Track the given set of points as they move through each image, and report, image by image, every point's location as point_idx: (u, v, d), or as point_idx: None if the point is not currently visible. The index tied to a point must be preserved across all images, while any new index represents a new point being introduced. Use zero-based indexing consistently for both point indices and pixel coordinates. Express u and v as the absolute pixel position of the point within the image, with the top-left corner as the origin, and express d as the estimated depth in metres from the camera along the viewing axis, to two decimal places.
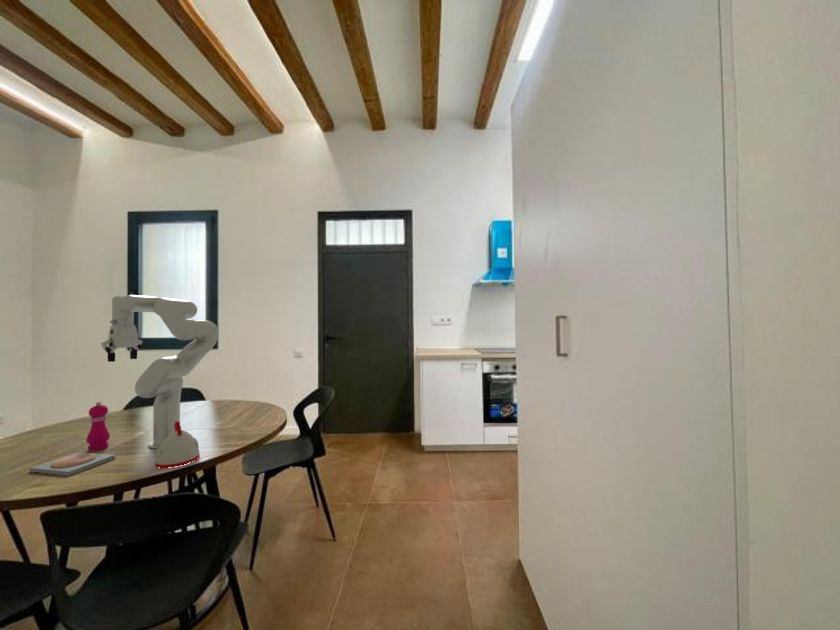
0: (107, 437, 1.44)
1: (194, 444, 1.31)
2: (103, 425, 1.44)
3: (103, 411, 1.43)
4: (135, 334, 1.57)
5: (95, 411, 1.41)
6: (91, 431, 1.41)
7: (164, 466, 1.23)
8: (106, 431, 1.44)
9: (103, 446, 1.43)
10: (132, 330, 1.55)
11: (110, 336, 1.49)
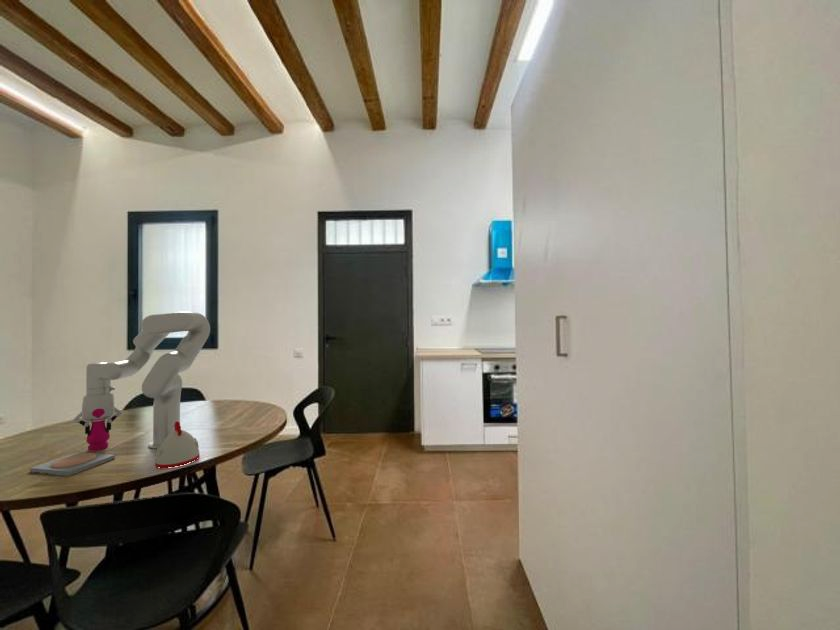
0: (107, 437, 1.44)
1: (194, 444, 1.31)
2: (103, 425, 1.44)
3: (103, 411, 1.43)
4: None
5: (95, 411, 1.41)
6: (91, 431, 1.41)
7: (164, 466, 1.23)
8: (106, 431, 1.44)
9: (103, 446, 1.43)
10: None
11: None
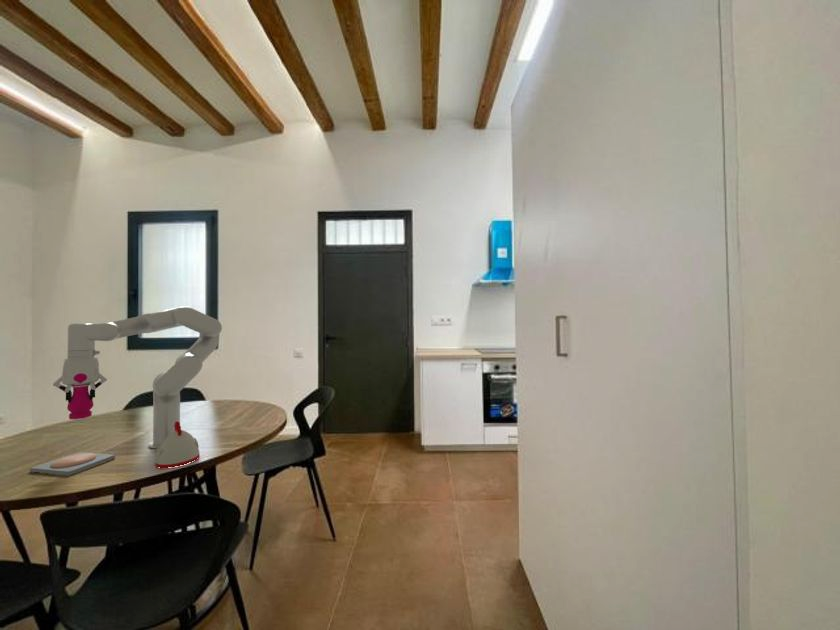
0: (90, 405, 1.32)
1: (194, 444, 1.31)
2: (86, 392, 1.32)
3: (85, 376, 1.31)
4: None
5: (76, 376, 1.29)
6: (72, 398, 1.29)
7: (164, 466, 1.23)
8: (89, 398, 1.32)
9: (85, 414, 1.30)
10: None
11: (98, 368, 1.35)
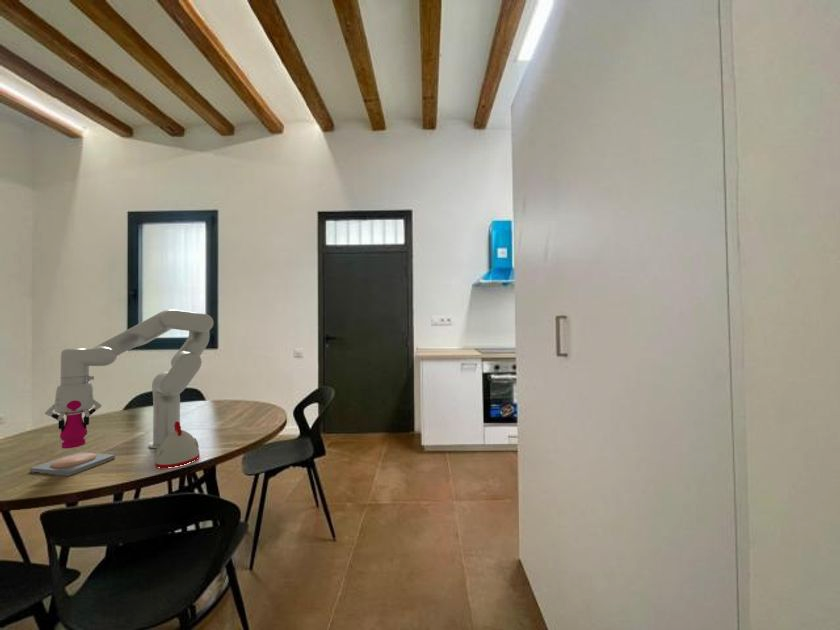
0: (84, 433, 1.28)
1: (194, 444, 1.31)
2: (79, 419, 1.27)
3: (79, 403, 1.26)
4: None
5: (70, 403, 1.25)
6: (65, 426, 1.25)
7: (164, 466, 1.23)
8: (83, 426, 1.28)
9: (79, 443, 1.26)
10: None
11: (92, 394, 1.30)
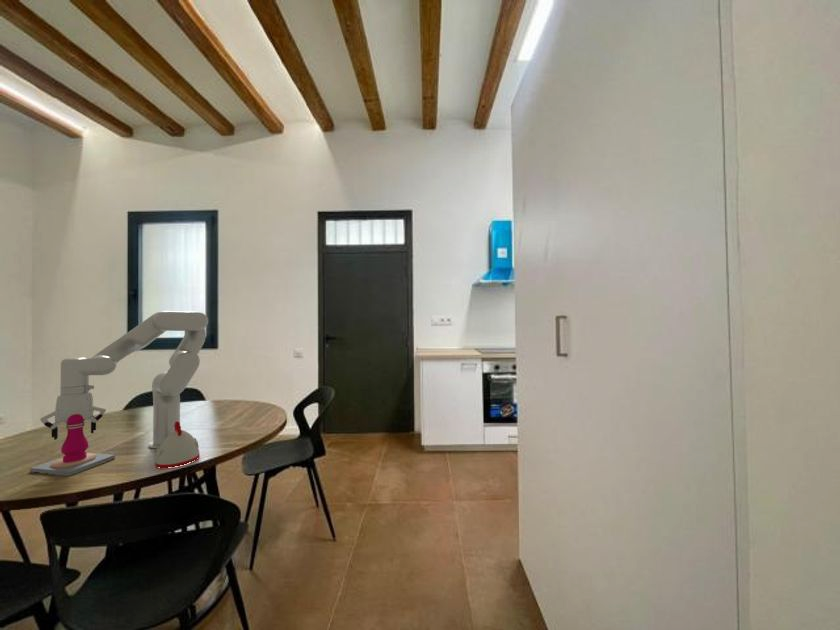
0: (85, 446, 1.28)
1: (194, 444, 1.31)
2: (81, 433, 1.28)
3: (81, 417, 1.27)
4: None
5: (71, 417, 1.25)
6: (67, 440, 1.25)
7: (164, 466, 1.23)
8: (84, 440, 1.28)
9: (80, 457, 1.26)
10: None
11: (92, 404, 1.30)
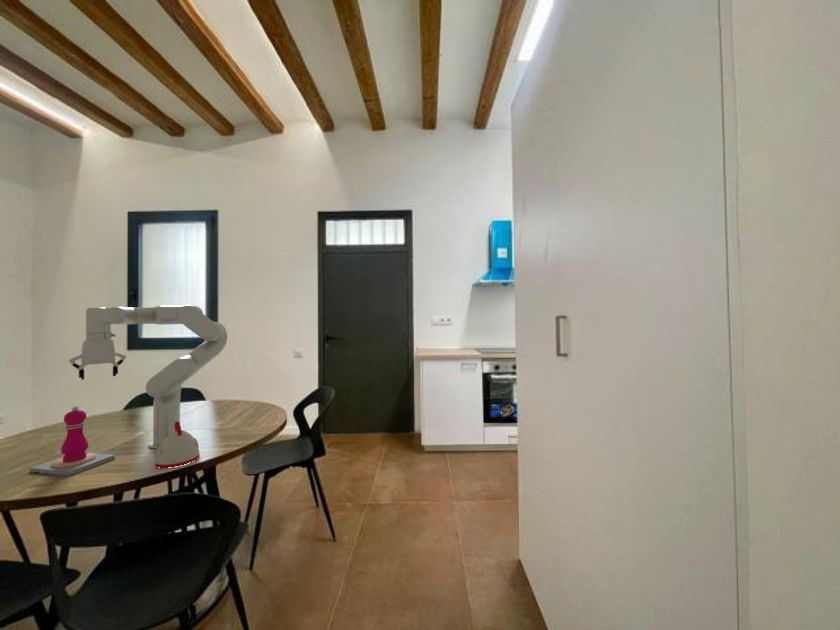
0: (85, 446, 1.28)
1: (194, 444, 1.31)
2: (80, 433, 1.27)
3: (80, 417, 1.27)
4: None
5: (71, 417, 1.25)
6: (66, 440, 1.25)
7: (164, 466, 1.23)
8: (84, 440, 1.28)
9: (80, 457, 1.26)
10: None
11: (114, 350, 1.44)
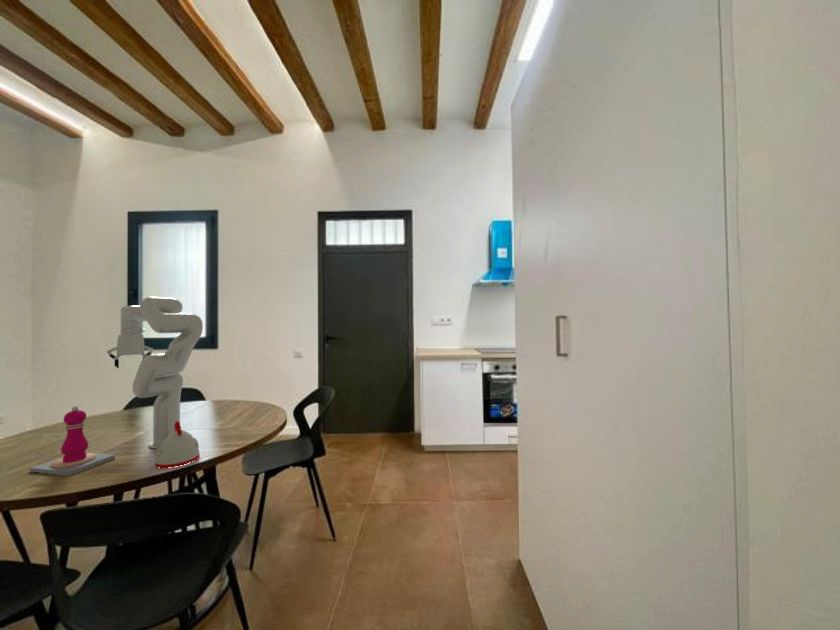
0: (85, 446, 1.28)
1: (194, 444, 1.31)
2: (80, 433, 1.27)
3: (80, 417, 1.27)
4: None
5: (70, 418, 1.25)
6: (66, 440, 1.25)
7: (164, 466, 1.23)
8: (84, 440, 1.28)
9: (80, 457, 1.26)
10: None
11: None
